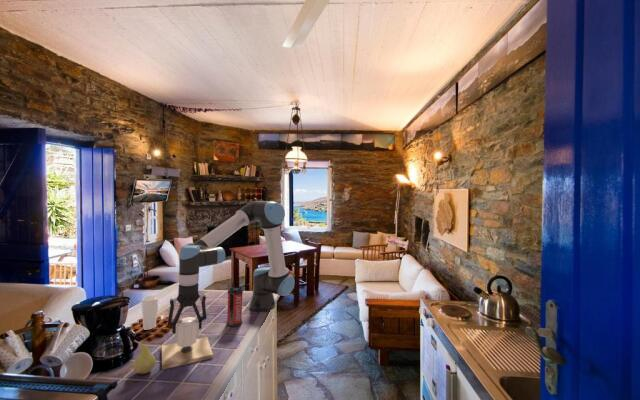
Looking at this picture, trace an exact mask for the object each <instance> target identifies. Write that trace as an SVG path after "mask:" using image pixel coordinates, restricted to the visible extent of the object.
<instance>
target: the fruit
mask: <svg viewBox="0 0 640 400" xmlns="http://www.w3.org/2000/svg"><path fill="white" fill-rule="evenodd" d="M133 342H134V343H135V344H136V343H137V344H138V345H140V352H139V355H138V356H137V357H136V358H135V359H134V362H133V366H132V369H133V371H134V372H135V373H137V374H141V375H144V374H147V373H149V372H151V371H152V370H153V368H154V367H155V365H156V357H155V356H154V355H153V354H152V352H151V351H150V349H149V347H148V346H147V345H146V344H145V343H142V342H139V341H138V340H136V339H134V340H133Z"/></svg>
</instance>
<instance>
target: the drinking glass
mask: <svg viewBox="0 0 640 400" xmlns="http://www.w3.org/2000/svg"><path fill="white" fill-rule="evenodd" d="M158 310H159V297H158V296H157V295H149V296H145V297H143V298H142V300H141V312H142V313H141V315H142V330H143V329H144V330H148V329H152V328H154V327H156V328H157V320H158V319H157V316H158ZM144 330H143V331H144Z"/></svg>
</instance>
